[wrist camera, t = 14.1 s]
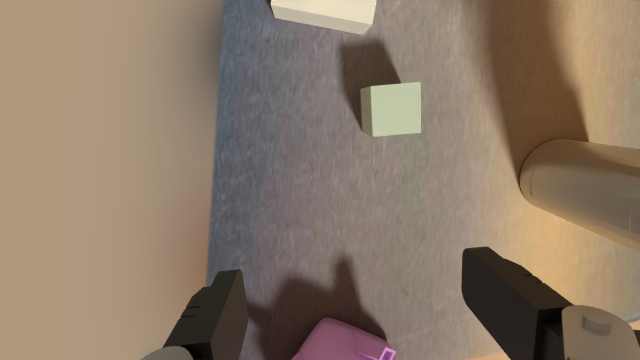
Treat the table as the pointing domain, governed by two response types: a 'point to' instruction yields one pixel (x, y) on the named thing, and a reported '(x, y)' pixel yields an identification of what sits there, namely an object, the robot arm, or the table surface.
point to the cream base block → (328, 13)
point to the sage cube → (391, 109)
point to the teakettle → (343, 343)
